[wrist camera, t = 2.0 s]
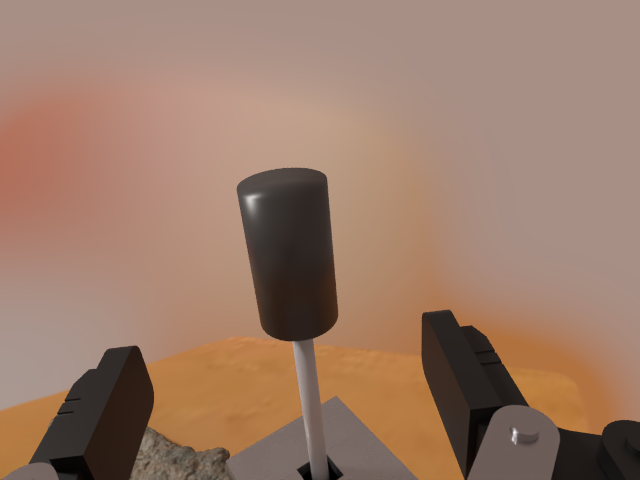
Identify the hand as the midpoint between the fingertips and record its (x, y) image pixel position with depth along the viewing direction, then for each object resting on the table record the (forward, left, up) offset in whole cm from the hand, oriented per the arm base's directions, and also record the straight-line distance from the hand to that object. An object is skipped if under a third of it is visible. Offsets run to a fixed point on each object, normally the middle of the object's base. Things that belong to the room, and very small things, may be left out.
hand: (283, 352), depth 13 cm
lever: (-10, +6, -24) cm, 27 cm away
